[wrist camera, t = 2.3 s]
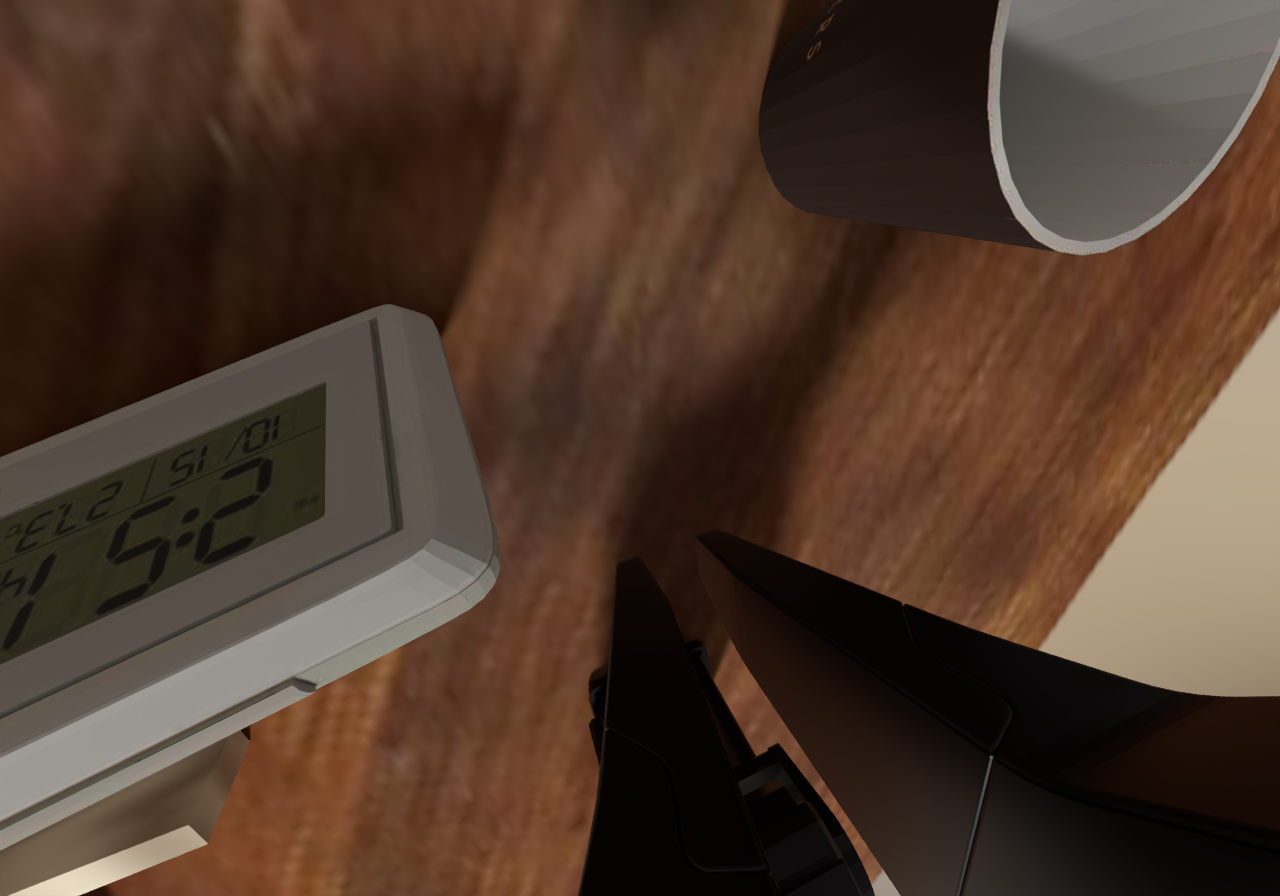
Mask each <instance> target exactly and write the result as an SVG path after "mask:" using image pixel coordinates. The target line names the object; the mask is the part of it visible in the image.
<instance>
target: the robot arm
mask: <svg viewBox="0 0 1280 896" xmlns="http://www.w3.org/2000/svg"><path fill="white" fill-rule="evenodd" d="M695 549H696V556H697V563H698V570H699V575H700V579H701V581H702V584H703V586H704V588H705V590H706V592H707V594H708V596H709V598H710V599H711V601H712V603H713V605H714V607H715V609H716V611H717V613H718V615H719V617H720V619H721V621H722V623H723V624H724V626H725V628H726V630H727V632H728V634H729V636H730V638H731V640H732V642H733V644H734V646H735V647H736V649H737V651H738V653H739V655H740V657H741V658H742V660H743V662H744V663H745V665H746V666H747V668H748V669H749V671H750V673H751V674H752V675H753V677H754V678H755V680H756V681H757V683H758V684H759V686H760V687H761V689H762V690H763V692H764V693H765V695H766V696H767V698H768V699H769V701H770V702H771V704H772V705H773V707H774V708H775V710H776V711H777V713H778V714H779V716H780V717H781V718H782V720H783V721H784V723H785V724H786V726H787V727H788V729H789V730H790V732H791V733H792V735H793V736H794V738H795V739H796V741H797V742H798V744H799V745H800V747H801V748H802V750H803V751H804V753H805V754H806V756H807V757H808V759H809V760H810V762H811V763H812V764H813V766H814V767H815V769H816V770H817V772H818V773H819V775H820V776H821V778H822V779H823V781H824V782H825V784H826V785H827V787H828V788H829V790H830V791H831V793H832V794H833V796H834V797H835V799H836V800H837V802H838V803H839V805H840V806H841V807H842V809H843V810H844V812H845V813H846V815H847V816H848V818H849V819H850V821H851V822H852V824H853V825H854V827H855V828H856V830H857V831H858V833H859V834H860V836H861V837H862V839H863V840H864V842H865V843H866V845H867V846H868V848H869V849H870V851H871V852H872V853H873V855H874V856H875V858H876V859H877V861H878V862H879V864H880V865H881V867H882V868H883V870H884V871H885V873H886V874H887V876H888V877H889V879H890V880H891V882H892V883H893V885H894V886H895V887H896V889H897V890H898V892H899V894H900V895H901V896H1280V696H1261V697H1260V696H1256V697H1225V696H1223V697H1221V696H1210V695H1198V694H1191V693H1185V692H1178V691H1173V690H1169V689H1164V688H1160V687H1155V686H1151V685H1148V684H1144V683H1141V682H1137V681H1134V680H1130V679H1127V678H1124V677H1121V676H1118V675H1115V674H1111V673H1108V672H1105V671H1101V670H1099V669H1096V668H1093V667H1089V666H1086V665H1083V664H1080V663H1077V662H1073V661H1070V660H1067V659H1064V658H1061V657H1058V656H1055V655H1051V654H1048V653H1045V652H1042V651H1039V650H1036V649H1032V648H1029V647H1026V646H1023V645H1020V644H1017V643H1014V642H1011V641H1008V640H1005V639H1002V638H999V637H996V636H993V635H990V634H987V633H984V632H981V631H978V630H975V629H972V628H969V627H966V626H964V625H961V624H958V623H956V622H953V621H950V620H948V619H945V618H942V617H940V616H937V615H934V614H932V613H929V612H926V611H924V610H921V609H919V608H916V607H914V606H911V605H909V604H905V605H904V606H903V604H902V602H900V601H898V600H896V599H893V598H891V597H888V596H886V595H883V594H880V593H878V592H875V591H873V590H870V589H868V588H865V587H863V586H860V585H858V584H855V583H853V582H850V581H848V580H845V579H843V578H840V577H837V576H835V575H832V574H830V573H827V572H825V571H822V570H820V569H817V568H815V567H812V566H810V565H807V564H805V563H802V562H800V561H797V560H794V559H792V558H789V557H787V556H784V555H782V554H779V553H777V552H774V551H772V550H769V549H767V548H764V547H762V546H759V545H757V544H754V543H751V542H749V541H746V540H744V539H741V538H739V537H736V536H734V535H731V534H729V533H726V532H724V531H721V530H718V529H713V530H710V531H707V532H704V533H702V534H699V535H697V536H696V538H695ZM588 691H589V695H590V698H591V702H592V705H593V708H594V711H595V714H596V718H594V719H591V721H590V724H589V728H590V732H591V735H592V739H593V743H594V747H595V751H596V755H597V758H598V762H599V766H600V771H599V780H598V789H597V798H596V804H595V810H594V815H593V821H592V827H591V833H590V838H589V844H588V850H587V854H586V859H585V864H584V869H583V874H582V879H581V883H580V888H579V893H578V896H875V894H874V891H873V888H872V885H871V883H870V880H869V878H868V875H867V873H866V871H865V869H864V866H863V864H862V862H861V860H860V858H859V856H858V854H857V852H856V850H855V848H854V846H853V845H852V843H851V841H850V839H849V838H848V836H847V834H846V833H845V831H844V829H843V828H842V826H841V825H840V823H839V821H838V820H837V818H836V817H835V816H834V814H833V813H832V812H831V810H830V809H829V808H828V806H827V805H826V804H825V802H824V801H823V800H822V799H821V797H820V796H819V795H818V793H817V792H816V791H815V790H814V788H813V787H812V786H811V784H810V783H809V782H808V781H807V779H806V778H805V777H804V775H803V774H802V773H801V772H800V770H799V769H798V768H797V766H796V765H795V764H794V763H793V761H792V760H791V759H790V757H789V756H788V755H787V754H786V752H785V751H784V750H783V748H782V747H781V746H780V745H779V743H777V744H775V745H773V746H771V747H769V748H768V751H766V752H764V753H762V754H760V755H758V756H756V755H755V753H754V751H753V750H752V748H751V746H750V744H749V743H748V741H747V739H746V737H745V736H744V734H743V732H742V730H741V728H740V727H739V725H738V723H737V721H736V720H735V718H734V716H733V714H732V712H731V711H730V709H729V707H728V705H727V704H726V702H725V700H724V698H723V696H722V695H721V693H720V691H719V689H718V688H717V686H716V684H715V682H714V680H713V679H712V677H711V675H710V671H709V664H708V658H707V651H706V648H705V647H704V645H703V643H702V642H700V641H696V642H692V643H690V644H687V645H685V643H684V640H683V638H682V635H681V632H680V630H679V627H678V625H677V622H676V619H675V617H674V614H673V611H672V609H671V606H670V604H669V602H668V600H667V597H666V596H665V594H664V593H663V591H662V589H661V588H660V586H659V585H658V583H657V582H656V580H655V579H654V577H653V576H652V574H651V573H650V571H649V570H648V568H647V567H646V565H645V564H644V562H643V561H642V559H641V558H640V557H637V556H636V557H633V558H630V559H627V560H624V561H621V562H619V563H618V564H617V566H616V576H615V589H614V602H613V615H612V627H611V640H610V653H609V666H608V676H607V677H605V678H602V679H600V680H597V681H595V682H593V683H592V684H591V685H590V686H589V688H588Z"/></svg>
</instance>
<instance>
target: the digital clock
mask: <svg viewBox="0 0 1280 896" xmlns="http://www.w3.org/2000/svg"><path fill="white" fill-rule="evenodd" d="M500 563H501V555H500V548H499V542H498V535H497V530H496V526H495V522H494V518H493V514H492V510H491V506H490V502H489V499H488V495H487V492H486V488H485V485H484V482H483V478H482V475H481V471H480V468H479V465H478V461H477V458H476V454H475V451H474V448H473V444H472V441H471V437H470V434H469V430H468V427H467V424H466V420H465V417H464V413H463V410H462V407H461V403H460V400H459V396H458V393H457V390H456V386H455V383H454V379H453V376H452V372H451V369H450V366H449V362H448V359H447V355H446V352H445V349H444V345H443V342H442V339H441V337H440V334H439V332H438V330H437V328H436V326H435V324H434V322H433V321H432V319H431V318H429V317H428V316H427V315H424V314H421V313H418V312H416V311H413V310H409V309H406V308H402V307H399V306H395V305H392V304H387V305H382V306H378V307H375V308H372V309H369V310H366V311H364V312H361V313H358V314H356V315H353V316H351V317H348V318H345V319H343V320H340V321H338V322H335V323H332V324H330V325H327V326H325V327H322V328H320V329H317V330H315V331H312V332H310V333H307V334H305V335H302V336H300V337H297V338H295V339H292V340H290V341H287V342H285V343H282V344H280V345H278V346H275V347H273V348H270V349H268V350H265V351H263V352H260V353H258V354H255V355H253V356H250V357H248V358H245V359H243V360H240V361H238V362H235V363H233V364H230V365H228V366H225V367H223V368H220V369H218V370H216V371H213V372H211V373H208V374H206V375H203V376H201V377H198V378H196V379H193V380H191V381H188V382H186V383H183V384H181V385H178V386H176V387H173V388H171V389H168V390H166V391H163V392H161V393H158V394H156V395H154V396H151V397H149V398H146V399H144V400H141V401H139V402H136V403H134V404H131V405H129V406H126V407H124V408H121V409H119V410H116V411H114V412H111V413H109V414H106V415H104V416H101V417H99V418H96V419H94V420H92V421H89V422H87V423H84V424H82V425H79V426H77V427H74V428H72V429H69V430H67V431H64V432H62V433H59V434H57V435H54V436H52V437H49V438H47V439H44V440H42V441H39V442H37V443H34V444H32V445H30V446H27V447H25V448H22V449H20V450H17V451H15V452H12V453H10V454H7V455H5V456H2V457H0V851H1V850H3V849H5V848H7V847H9V846H11V845H13V844H15V843H17V842H19V841H21V840H22V839H24V838H26V837H28V836H30V835H32V834H34V833H36V832H38V831H40V830H42V829H44V828H46V827H48V826H50V825H52V824H54V823H56V822H58V821H60V820H62V819H64V818H66V817H68V816H70V815H72V814H74V813H76V812H78V811H80V810H82V809H84V808H86V807H88V806H90V805H92V804H94V803H96V802H98V801H100V800H102V799H104V798H106V797H108V796H110V795H112V794H114V793H116V792H118V791H120V790H122V789H124V788H126V787H128V786H130V785H132V784H134V783H136V782H138V781H140V780H142V779H144V778H146V777H148V776H150V775H152V774H154V773H156V772H158V771H160V770H162V769H164V768H166V767H168V766H170V765H172V764H174V763H176V762H178V761H180V760H182V759H184V758H186V757H187V756H189V755H191V754H193V753H195V752H197V751H199V750H201V749H203V748H205V747H207V746H209V745H211V744H213V743H215V742H217V741H219V740H221V739H223V738H225V737H227V736H229V735H231V734H233V733H235V732H237V731H239V730H241V729H243V728H245V727H247V726H249V725H251V724H253V723H255V722H257V721H259V720H261V719H263V718H265V717H267V716H269V715H271V714H273V713H275V712H277V711H279V710H281V709H283V708H285V707H287V706H289V705H291V704H293V703H295V702H297V701H299V700H301V699H303V698H305V697H307V696H309V695H311V694H313V693H315V692H316V689H318V688H320V687H322V686H324V685H326V684H328V683H330V682H332V681H334V680H336V679H338V678H340V677H342V676H344V675H346V674H348V673H350V672H352V671H354V670H356V669H358V668H360V667H362V666H364V665H366V664H367V663H369V662H371V661H373V660H375V659H377V658H379V657H381V656H383V655H385V654H387V653H389V652H391V651H393V650H395V649H397V648H398V647H400V646H402V645H404V644H406V643H408V642H410V641H412V640H414V639H416V638H418V637H419V636H421V635H423V634H425V633H427V632H429V631H431V630H433V629H435V628H437V627H439V626H441V625H442V624H444V623H446V622H448V621H450V620H452V619H454V618H455V617H457V616H459V615H460V614H462V613H464V612H465V611H467V610H469V609H470V608H472V607H473V606H474V605H475V604H477V603H478V602H479V601H481V600H482V599H483V598H484V597H485V596H486V594H487V593H488V592H489V591H490V590H491V588H492V587H493V585H494V584H495V582H496V579H497V577H498V574H499V571H500Z"/></svg>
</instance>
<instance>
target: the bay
mask: <svg viewBox="0 0 1280 896" xmlns="http://www.w3.org/2000/svg"><path fill="white" fill-rule="evenodd" d="M249 743H250V741H249V740H248V739H247V737H246V736H245V735H244V734H243V732H242V731H241V730H239V731H237V732H235V733H233V734H231V735H229V736H227V737H225V738H223V739H221V740H219V741H217V742H215V743H213V744H211V745H209V746H207V747H205V748H203V749H201V750H199V751H197V752H195V753H193V754H191V755H189V756H187V757H186V758H184V759H182V760H180V761H178V762H176V763H174V764H172V765H170V766H168V767H166V768H164V769H162V770H160V771H158V772H156V773H154V774H152V775H150V776H148V777H146V778H144V779H142V780H140V781H138V782H136V783H134V784H132V785H130V786H128V787H126V788H124V789H122V790H120V791H118V792H116V793H114V794H112V795H110V796H108V797H106V798H104V799H102V800H100V801H98V802H96V803H94V804H92V805H90V806H88V807H86V808H84V809H82V810H80V811H78V812H76V813H74V814H72V815H70V816H68V817H66V818H64V819H62V820H60V821H58V822H56V823H54V824H52V825H50V826H48V827H46V828H44V829H42V830H40V831H38V832H36V833H34V834H32V835H30V836H28V837H26V838H24V839H22V840H21V841H19V842H17V843H15V844H13V845H11V846H9V847H7V848H5V849H3V850H1V851H0V896H79V895H82V894H84V893H87V892H89V891H92V890H94V889H97V888H99V887H102V886H104V885H107V884H109V883H112V882H114V881H117V880H119V879H121V878H124V877H126V876H129V875H131V874H134V873H136V872H139V871H141V870H144V869H146V868H149V867H151V866H154V865H156V864H159V863H161V862H164V861H166V860H169V859H171V858H174V857H176V856H179V855H181V854H184V853H186V852H189V851H191V850H194V849H196V848H199V847H201V846H204V845H206V844H208V842H209V840H210V838H211V835H212V833H213V830H214V828H215V825H216V823H217V820H218V818H219V816H220V813H221V811H222V808H223V806H224V803H225V801H226V799H227V796H228V794H229V791H230V789H231V786H232V784H233V782H234V779H235V777H236V774H237V772H238V769H239V767H240V765H241V762H242V760H243V757H244V755H245V752H246V750H247V747H248V745H249Z"/></svg>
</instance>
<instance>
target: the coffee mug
mask: <svg viewBox="0 0 1280 896" xmlns="http://www.w3.org/2000/svg"><path fill="white" fill-rule="evenodd" d="M1279 57H1280V0H833V1H832V2H831V3H830V4H829V5H828V6H826V7H825V8H824V9H823V10H822V11H821V12H819V13H818V14H817V15H816V16H815V17H814V18H813V19H811V20H810V21H809V22H808V23H807V24H806V25H804V26H803V27H802V28H801V29H800V30H799V31H798V32H797V33H796V34H795V35H793V36H792V37H791V38H790V40H789V41H788V42H787V44H786V45H785V46H784V48H783V49H782V50H781V52H780V53H779V55H778V57H777V59H776V61H775V63H774V65H773V67H772V68H771V70H770V72H769V76H768V79H767V82H766V85H765V88H764V91H763V96H762V102H761V107H760V115H759V137H760V144H761V152H762V156H763V159H764V162H765V166H766V169H767V172H768V174H769V176H770V178H771V180H772V181H773V183H774V185H775V187H776V188H777V189H778V191H779V192H780V193H781V194H782V196H783V197H784V198H785V199H786V200H788V201H789V202H790V203H791V204H793V205H794V206H795V207H797V208H799V209H802V210H804V211H806V212H809V213H815V214H821V215H828V216H834V217H840V218H847V219H853V220H859V221H866V222H872V223H878V224H885V225H891V226H897V227H904V228H910V229H916V230H923V231H929V232H935V233H942V234H948V235H954V236H961V237H967V238H973V239H980V240H986V241H992V242H998V243H1005V244H1011V245H1017V246H1024V247H1030V248H1036V249H1043V250H1049V251H1055V252H1062V253H1068V254H1074V255H1088V254H1096V253H1103V252H1108V251H1110V250H1113V249H1115V248H1118V247H1120V246H1122V245H1125V244H1127V243H1130V242H1132V241H1134V240H1136V239H1137V238H1139V237H1140V236H1142V235H1143V234H1145V233H1146V232H1148V231H1150V230H1151V229H1153V228H1154V227H1156V226H1157V225H1159V224H1160V223H1161V222H1163V221H1164V220H1165V219H1166V218H1167V217H1168V216H1169V215H1170V214H1172V213H1173V212H1174V211H1175V210H1176V209H1177V208H1178V207H1179V206H1181V205H1182V204H1183V203H1184V202H1185V201H1186V200H1187V199H1188V198H1189V197H1190V196H1191V195H1192V194H1193V192H1194V191H1195V190H1196V189H1197V188H1198V187H1199V186H1200V185H1201V183H1202V182H1203V181H1204V180H1205V179H1206V178H1207V177H1208V176H1209V174H1210V173H1211V172H1212V171H1213V170H1214V168H1215V167H1216V165H1217V164H1218V163H1219V161H1220V160H1221V159H1222V157H1223V156H1224V154H1225V153H1226V152H1227V150H1228V149H1229V147H1230V146H1231V145H1232V143H1233V142H1234V140H1235V139H1236V138H1237V136H1238V135H1239V133H1240V131H1241V129H1242V128H1243V126H1244V124H1245V123H1246V121H1247V119H1248V117H1249V116H1250V114H1251V112H1252V111H1253V109H1254V107H1255V105H1256V104H1257V102H1258V100H1259V99H1260V97H1261V95H1262V93H1263V91H1264V89H1265V87H1266V84H1267V82H1268V80H1269V78H1270V76H1271V74H1272V72H1273V70H1274V68H1275V66H1276V63H1277V61H1278V59H1279Z"/></svg>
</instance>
